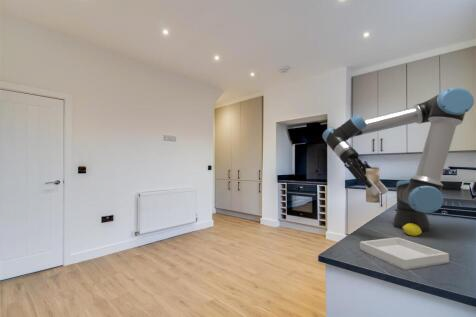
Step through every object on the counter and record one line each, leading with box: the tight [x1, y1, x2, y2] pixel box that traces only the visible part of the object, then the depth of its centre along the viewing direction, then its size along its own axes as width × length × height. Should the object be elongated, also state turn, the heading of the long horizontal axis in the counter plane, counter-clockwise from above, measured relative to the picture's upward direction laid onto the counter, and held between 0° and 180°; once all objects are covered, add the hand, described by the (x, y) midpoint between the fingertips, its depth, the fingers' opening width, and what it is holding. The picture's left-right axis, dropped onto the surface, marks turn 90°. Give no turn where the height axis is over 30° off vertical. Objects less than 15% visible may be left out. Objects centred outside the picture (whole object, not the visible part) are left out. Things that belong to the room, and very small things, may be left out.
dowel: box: [365, 167, 381, 204], centre depth 103 cm, size 5×5×14 cm
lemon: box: [402, 223, 423, 237], centre depth 107 cm, size 7×5×5 cm
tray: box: [359, 236, 450, 271], centre depth 84 cm, size 18×18×3 cm
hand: (381, 192), depth 99 cm, fingers closed on dowel, 5 cm apart
